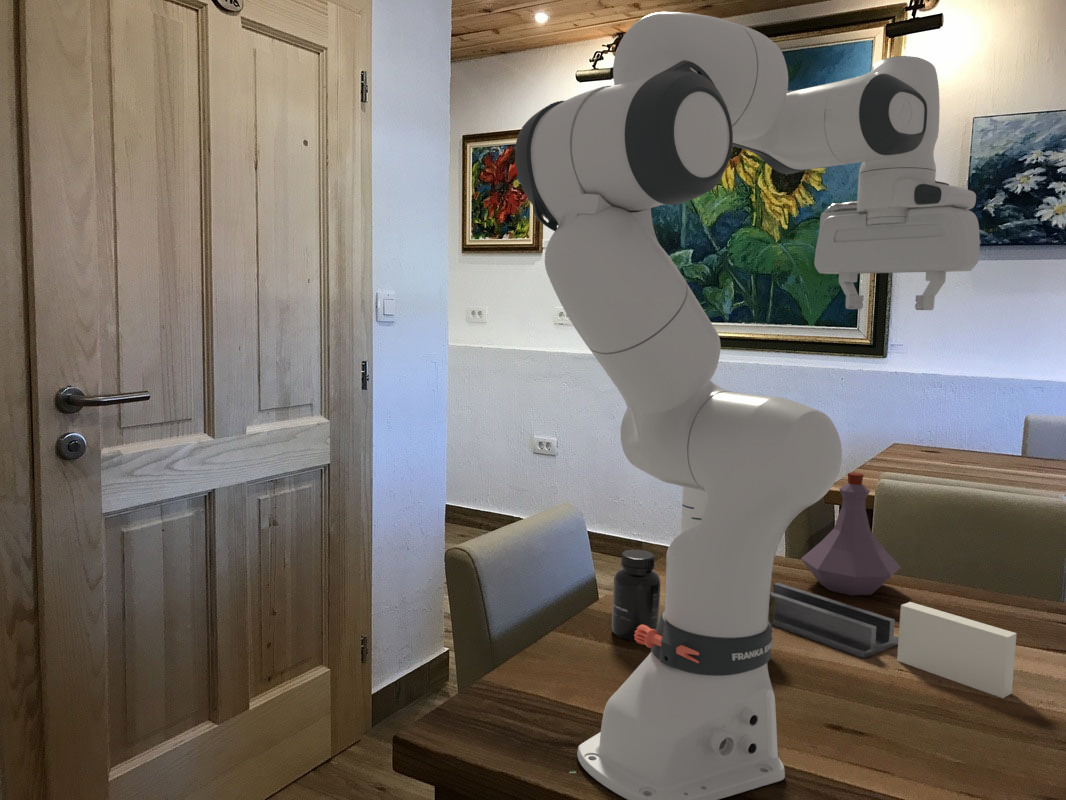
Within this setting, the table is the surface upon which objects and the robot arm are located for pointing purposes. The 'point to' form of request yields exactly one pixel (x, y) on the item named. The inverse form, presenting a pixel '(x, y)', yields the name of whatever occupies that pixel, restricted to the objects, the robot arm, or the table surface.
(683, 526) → the cylindrical container
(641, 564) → the supplement bottle
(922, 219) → the robot arm
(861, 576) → the flask
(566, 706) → the table surface
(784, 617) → the floor track
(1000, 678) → the door panel
